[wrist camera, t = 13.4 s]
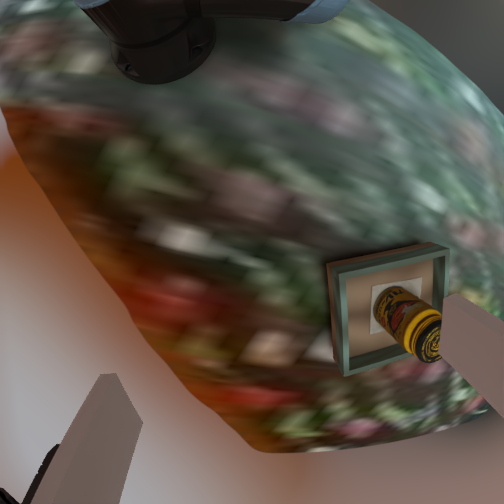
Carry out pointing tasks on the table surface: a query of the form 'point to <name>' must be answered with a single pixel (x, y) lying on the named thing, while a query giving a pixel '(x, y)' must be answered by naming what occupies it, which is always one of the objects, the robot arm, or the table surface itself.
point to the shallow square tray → (360, 294)
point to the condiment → (407, 318)
